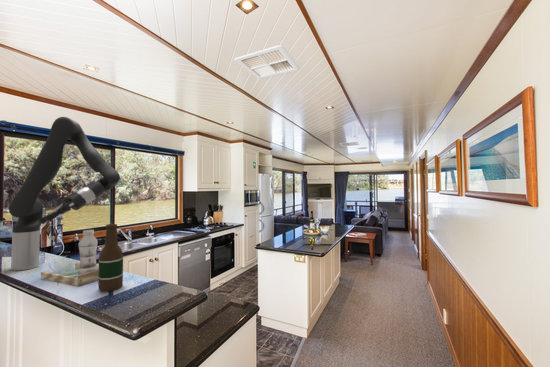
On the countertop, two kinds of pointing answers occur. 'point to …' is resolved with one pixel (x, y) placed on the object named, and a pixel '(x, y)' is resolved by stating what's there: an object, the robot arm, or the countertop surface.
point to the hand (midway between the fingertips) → (43, 221)
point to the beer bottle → (110, 262)
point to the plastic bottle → (87, 252)
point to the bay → (72, 276)
